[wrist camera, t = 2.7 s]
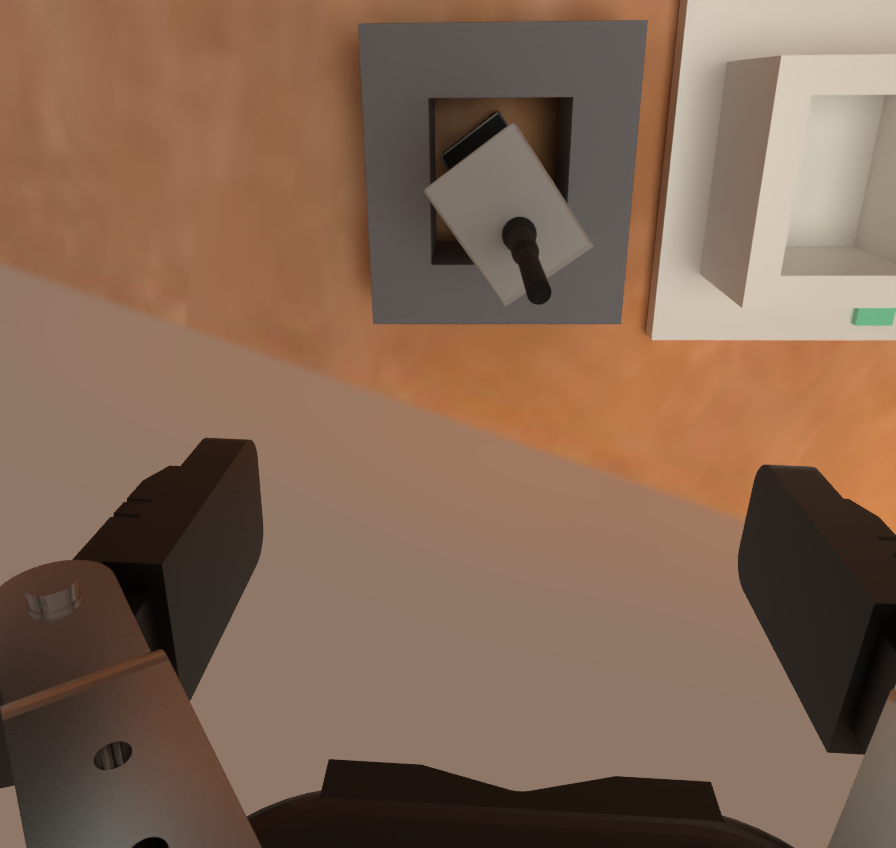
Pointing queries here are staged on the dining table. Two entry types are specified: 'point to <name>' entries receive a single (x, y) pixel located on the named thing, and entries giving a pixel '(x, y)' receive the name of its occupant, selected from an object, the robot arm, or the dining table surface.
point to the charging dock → (779, 174)
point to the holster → (577, 159)
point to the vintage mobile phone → (507, 211)
